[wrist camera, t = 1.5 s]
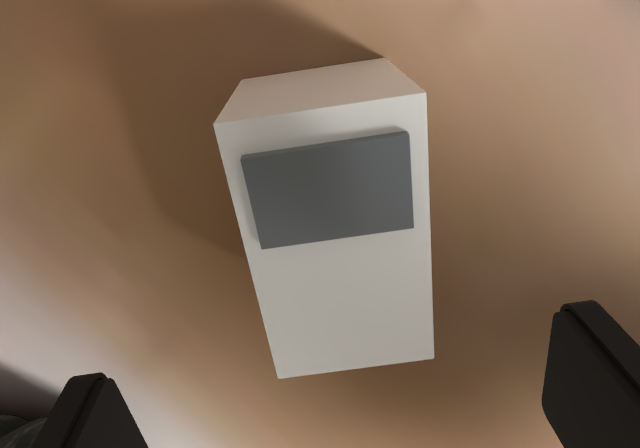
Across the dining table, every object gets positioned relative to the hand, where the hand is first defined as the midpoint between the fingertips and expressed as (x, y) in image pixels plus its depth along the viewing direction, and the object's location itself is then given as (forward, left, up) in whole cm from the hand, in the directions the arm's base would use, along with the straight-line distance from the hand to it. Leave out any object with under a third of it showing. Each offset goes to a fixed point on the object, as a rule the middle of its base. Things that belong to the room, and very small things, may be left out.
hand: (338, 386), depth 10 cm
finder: (0, 0, -13) cm, 13 cm away
